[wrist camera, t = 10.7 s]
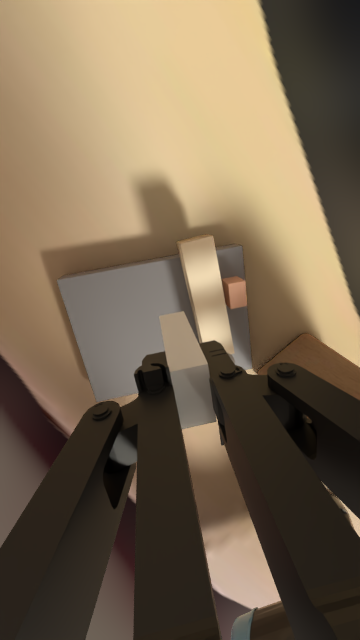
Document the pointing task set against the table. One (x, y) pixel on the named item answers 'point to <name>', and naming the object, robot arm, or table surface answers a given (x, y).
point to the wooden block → (320, 363)
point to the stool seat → (143, 315)
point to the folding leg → (206, 290)
